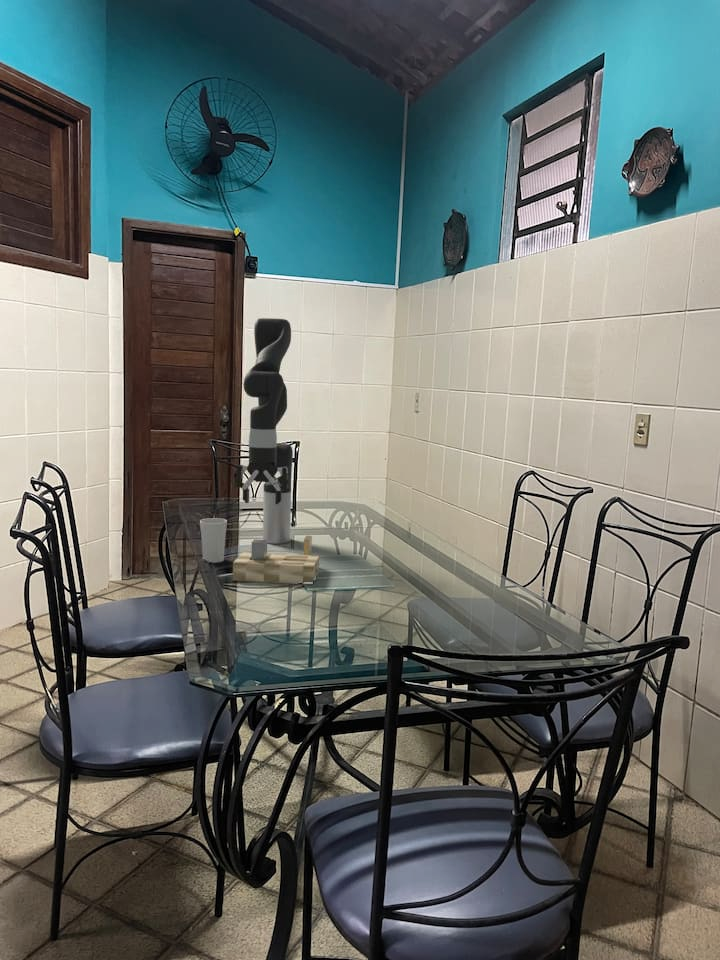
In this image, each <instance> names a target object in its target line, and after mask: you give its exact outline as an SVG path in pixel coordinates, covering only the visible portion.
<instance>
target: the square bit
mask: <svg viewBox="0 0 720 960" xmlns="http://www.w3.org/2000/svg"><path fill="white" fill-rule="evenodd" d="M251 552H252V557H251V560H260V561H267V553H268V543H267V540H263V539H259V538H258V539H253V540H252V541H251Z"/></svg>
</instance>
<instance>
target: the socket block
mask: <svg viewBox="0 0 720 960" xmlns="http://www.w3.org/2000/svg"><path fill="white" fill-rule="evenodd" d="M251 557H252V551H250V552H249V551H243V552H242V553H241V554H240V555H238V557H237V558H236V559H235V560H234V561H233V562H232V581H239V582H257V583H259V582H260V583H275V584H276V583H279V584H293V585H294V584H295V585H299V584H298V583H304V582H313V581H314V579H315V577H316V575H317V573H318V571H319V570H320V569H319V566H320V555H312V554H311V555H304V554H291V553H274V552H273V553H271V552H267V561H260V560H251ZM319 572H320V571H319ZM318 574H319V573H318ZM317 576H318V575H317ZM316 578H317V577H316ZM315 580H316V579H315ZM314 582H315V581H314Z"/></svg>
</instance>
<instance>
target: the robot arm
mask: <svg viewBox="0 0 720 960" xmlns="http://www.w3.org/2000/svg"><path fill="white" fill-rule="evenodd" d="M253 327H254V331H253V332H254V333H253V335H254V345H255V355H256V356H255V357H256V360H255V364H254V365H253V366H252V367H251V368H250V369H249V370H248V371H247V373H246V375H245V376H244V379H243V391H244V392H245V394H247V396H249V397H251V398H257V401H258V406H253V407H252V408H251V409H250V412H249V413H250V414H249V417H250V419H249V421H250V423H249V427H250V428H249V436H248V464H247V465H243V464H239V465H237V467H236V475H235V476H236V477H235V478H236V479H235V486H236V487H237V488H240V489H242V500H243V502H244V503H245V504H248V503H249V502H250V488H249V487H250V486H251V485H252V483H253V482H257V483H260V482H262V483H264V484H263V497H262V499H263V503H262V504H263V505H262V507H263V510H262V512H263V513H262V514H263V515H262V516H263V517H262V540H267V544H276V545H279V544H287V543H289V542H291V519H292V518H291V515H292V514H291V511H292V509H291V507H292V469H293V459H294V458H293V456H294V455H293V452H294V451H293V448H292V447H293V446H292V445H291V444H290V443H289V444H288V443H278V437H277V426H278V424H279V422H280V421H281V420H282V419H283V416H284V415H285V413H286V411H287V408H288V389H287V386H286V384H285V382H284V378H283V376H282V375H281V374H280V371H281V366H282V365H281V364H282V361H283V359H284V358H285V355H286V354H287V352H288V350H289V347H290V345H291V340H292V328H291V323H290V321H288V319H284V318H270V317H269V318H268V317H267V318H264V317H263V318H261V317H260V318H257V319H256V320H255V323H254V326H253ZM246 471H247V472H248V474H249V475H250V476H249V478H247V480H246V481H245V482H243V481H244V480H243V479H244V478H243V477H244V474H245V473H246ZM277 473H279V475H280V476H278V477H276V476H275V475H276V474H277Z"/></svg>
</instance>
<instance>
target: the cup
mask: <svg viewBox="0 0 720 960" xmlns="http://www.w3.org/2000/svg"><path fill="white" fill-rule="evenodd" d="M227 525H228V520H227V519H225V518H218V517H213V518H211V517H210V518H203V519H200V520H199V526H200V528H199V529H200V535H201V536H200V537H201V552H202V560H203V559H205V560H207V561H209V562H208V563H210V562H212V563H214V564H215V563H221V562H224V561H225V549H226V548H225V547H226V536H227V535H226V533H227Z"/></svg>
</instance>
